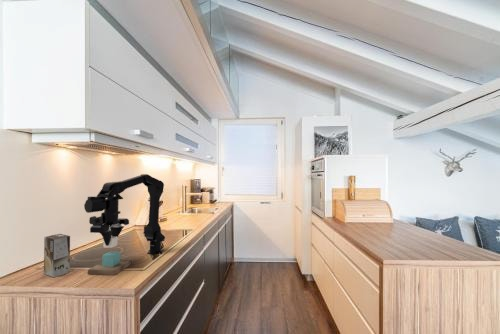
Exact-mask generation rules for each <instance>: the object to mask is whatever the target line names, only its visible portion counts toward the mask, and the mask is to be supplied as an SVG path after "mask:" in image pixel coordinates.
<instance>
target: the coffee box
mask: <svg viewBox="0 0 500 334" xmlns="http://www.w3.org/2000/svg"><path fill="white" fill-rule="evenodd" d="M43 254H44V255H43V274H44V275H46V276H49V277H51V278H56V277H60V276H62V275H66V274H69V273H70V266H71V265H70V263H71V262H70V259H71V256H70V255H71V236H70V235H69V234H68V235H67V234H62V233H57V234H56V233H55V234H52V235H48V236H44V239H43Z"/></svg>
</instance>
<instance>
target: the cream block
mask: <svg viewBox="0 0 500 334" xmlns="http://www.w3.org/2000/svg"><path fill="white" fill-rule="evenodd" d="M118 238H119V236H111V240H110V243H109V245H106V244H105V241H104V239H103V244H102V245H103V247H102V248H108V249H109V248H114V247H116V246H118V241H119V240H118Z"/></svg>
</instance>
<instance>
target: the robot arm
mask: <svg viewBox="0 0 500 334" xmlns="http://www.w3.org/2000/svg"><path fill="white" fill-rule="evenodd" d="M141 184H143V185H144V186H145V187H146V188H147V192H148V194H149V210H148V223H147V224H146V225H143V232H142V234H143V236H144V238H145V239H146V241H147V242H149V251H147V253H146V254H147V255H148V254H149V255H151V254H152V255H159V254H160V253H162V252H163V251H164V249H162V242H165V238H166V236H165V235H164V234H163V233H162V229H161V225H160V224H159V214H160V198H161V195H162V194H163V192H164V187H165V184H164V182H163V181H162V180H160V179H157V178H156V177H153V176H151V175H149V174H147V173H143V174H140V175H137V176H133V177H131V178H127V179H123V180H121V181H120V180H119V181H111V182H109V181H108V182H106V183H103V185H102V188H101V189H100V191H99V192H98V194H97V195H96V196H87V199H86V200H85V203H84V204H83V206H84V211H85V212H86V213H87V214H89V213H90V214H91V213H98V212H101V214H100V216H96V215H93V216H90V217H89V219H88V221H89V222H88V223H89V225H91V226H90V227H89V232H90V233H91V234H92V233H95V234H97V233H98V234H100V235H101V237H102V238H103V239H104V241H105V244H106V245H109V243H110V240H111V236H118V237H119V236H120V234H121V232H122V230H123V229H124V228H125V226H127V225H129V224H130V219H129V218H123V217H122V218H119V214H121V210H119V201H120V200H123V199H124V197H123V196H122V195H121V194H122V193H123V192H124V191H125V190H127V189H129V188H132V187H135V186H139V185H141ZM123 225H124V226H123Z"/></svg>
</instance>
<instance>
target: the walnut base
mask: <svg viewBox="0 0 500 334" xmlns="http://www.w3.org/2000/svg"><path fill="white" fill-rule="evenodd" d="M131 265H133V260H132V259H124V258H123V259H121V258H120V263H118V264H117V265H115V266H113V267H105V266H102V262H100V263H98V264H97V265H94V266H92V267H91V268H89V269H87V275H89V276H91V275H92V276H93V275H94V276H115V275H117V274H119V273H120V272H121V271H123V270H125V269H126V268H128V267H130V266H131Z"/></svg>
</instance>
